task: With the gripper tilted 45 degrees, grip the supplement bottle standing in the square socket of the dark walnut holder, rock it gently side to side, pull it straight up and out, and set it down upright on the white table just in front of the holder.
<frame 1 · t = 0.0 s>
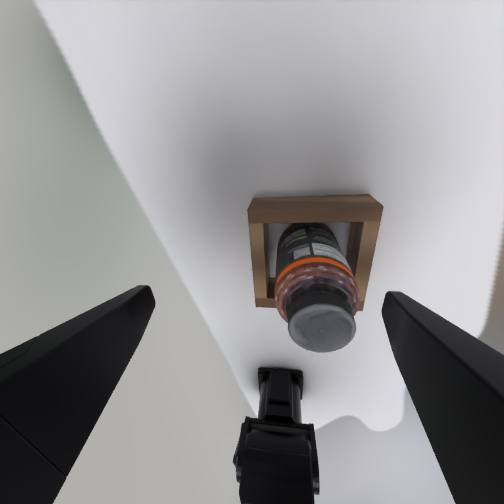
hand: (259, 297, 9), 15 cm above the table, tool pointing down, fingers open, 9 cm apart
supplement bottle: (306, 245, 24), resting in walnut socket holder
walnut socket holder: (306, 246, 24), on the table
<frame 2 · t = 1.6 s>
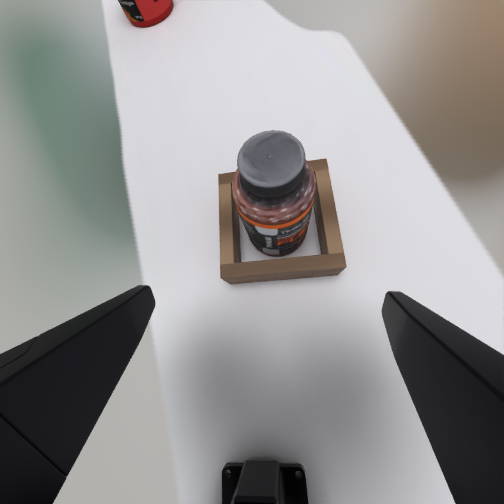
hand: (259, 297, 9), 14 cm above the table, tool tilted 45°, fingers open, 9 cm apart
supplement bottle: (277, 231, 24), resting in walnut socket holder
canned food: (152, 13, 38), on the table
walnut socket holder: (277, 230, 24), on the table
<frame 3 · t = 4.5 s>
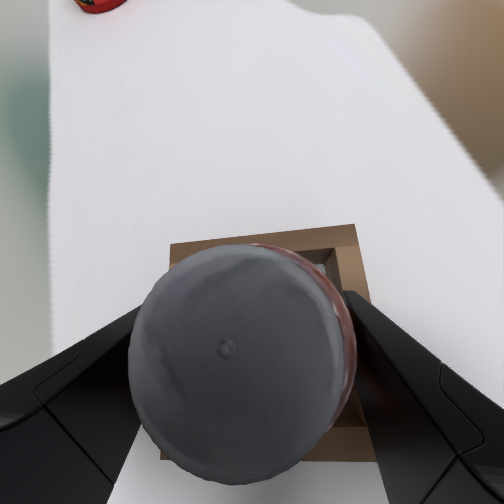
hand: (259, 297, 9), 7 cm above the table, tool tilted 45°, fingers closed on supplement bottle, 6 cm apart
supplement bottle: (270, 329, 15), resting in walnut socket holder, touching gripper
walnut socket holder: (270, 329, 15), on the table
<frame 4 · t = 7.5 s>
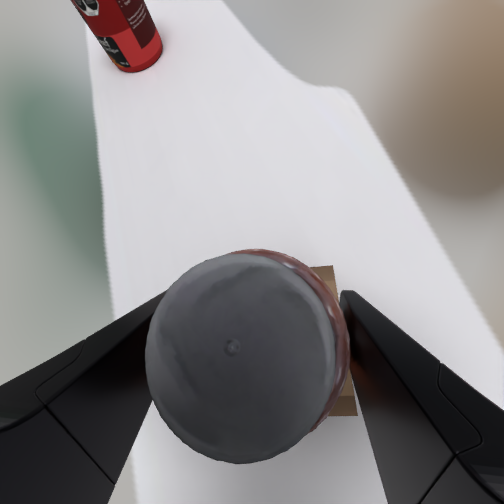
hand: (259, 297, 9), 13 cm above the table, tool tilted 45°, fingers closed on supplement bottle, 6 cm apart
supplement bottle: (270, 328, 16), point 6 cm above the table, touching gripper
canned food: (140, 56, 35), on the table
walnut socket holder: (275, 334, 21), on the table
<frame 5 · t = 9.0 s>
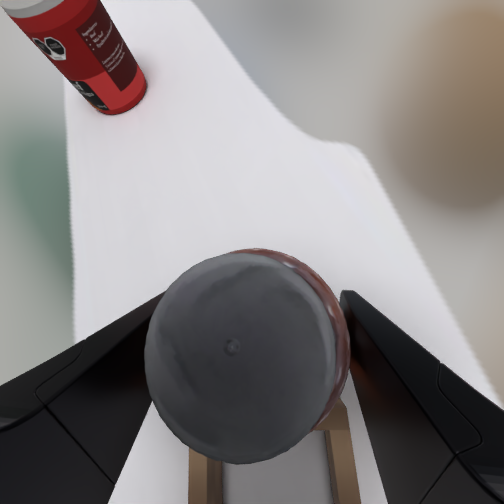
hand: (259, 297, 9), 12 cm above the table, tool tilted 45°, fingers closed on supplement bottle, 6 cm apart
supplement bottle: (270, 328, 15), point 5 cm above the table, touching gripper
canned food: (121, 94, 31), on the table
walnut socket holder: (274, 472, 17), on the table
when the fingers open (8 cm above the table, at t = 10.3 s): supplement bottle stays where it is, on the table.
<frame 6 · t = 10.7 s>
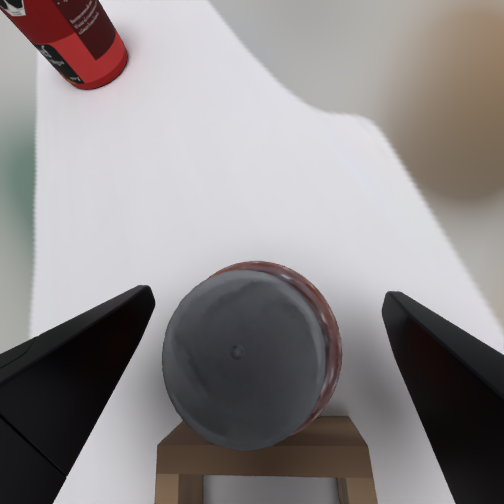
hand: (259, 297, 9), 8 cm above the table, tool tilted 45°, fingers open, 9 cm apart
supplement bottle: (270, 331, 16), on the table
canned food: (100, 68, 27), on the table
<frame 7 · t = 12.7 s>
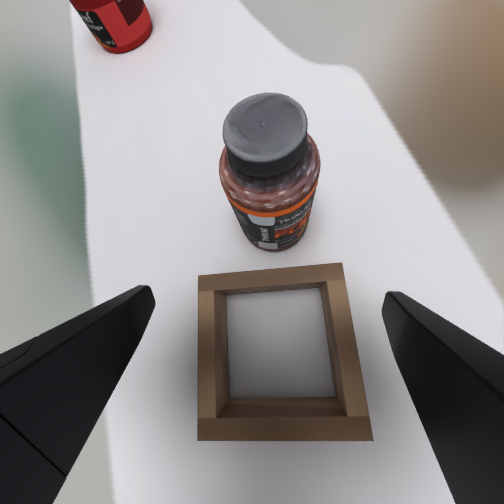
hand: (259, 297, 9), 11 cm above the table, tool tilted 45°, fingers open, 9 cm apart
supplement bottle: (274, 223, 21), on the table
canned food: (128, 36, 32), on the table
walnut socket holder: (276, 341, 18), on the table
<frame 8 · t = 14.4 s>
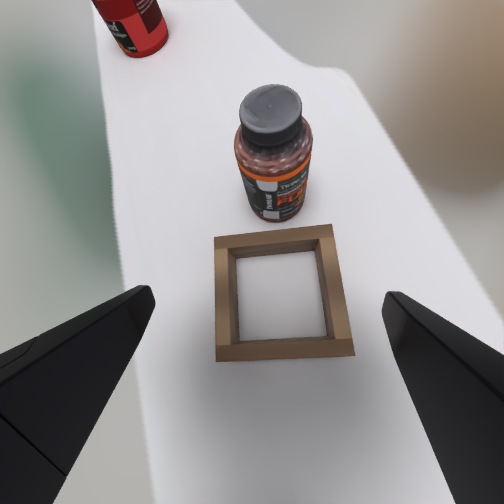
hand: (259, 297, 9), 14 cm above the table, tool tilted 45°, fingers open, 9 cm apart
supplement bottle: (276, 199, 25), on the table
canned food: (146, 42, 37), on the table
walnut socket holder: (278, 294, 22), on the table
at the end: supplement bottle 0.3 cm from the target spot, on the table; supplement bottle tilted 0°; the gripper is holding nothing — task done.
